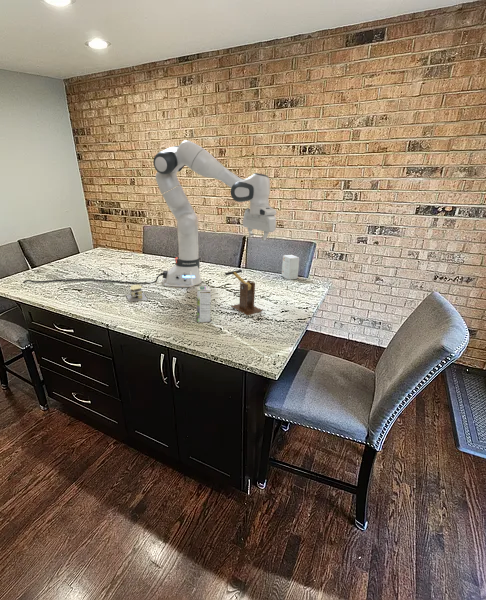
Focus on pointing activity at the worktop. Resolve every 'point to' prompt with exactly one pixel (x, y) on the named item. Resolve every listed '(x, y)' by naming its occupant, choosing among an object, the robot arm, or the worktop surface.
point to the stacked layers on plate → (136, 293)
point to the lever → (239, 277)
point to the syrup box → (203, 303)
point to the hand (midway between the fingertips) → (257, 238)
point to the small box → (290, 267)
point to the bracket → (247, 299)
